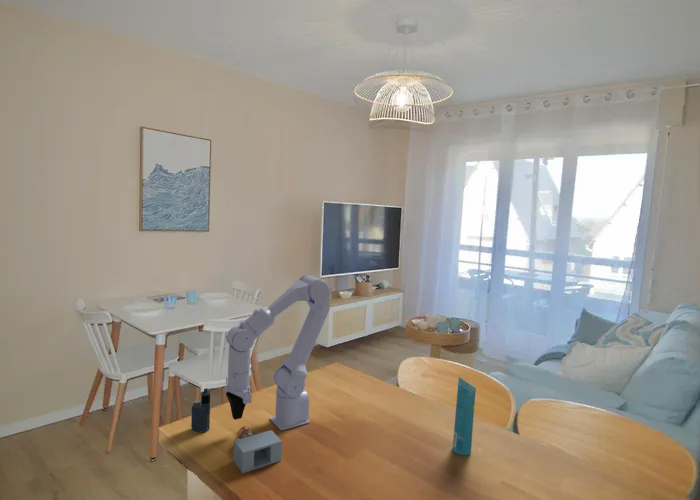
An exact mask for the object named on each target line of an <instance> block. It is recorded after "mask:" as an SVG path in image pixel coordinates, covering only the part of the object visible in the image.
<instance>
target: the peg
mask: <svg viewBox="0 0 700 500" xmlns="http://www.w3.org/2000/svg"><path fill="white" fill-rule="evenodd" d="M252 434H253V431H252V429H251V428H250V427H249V426H246V425H245V426H242V427H240V429H239V430H238V431H237V439H242V437H245V436H248V435H252Z"/></svg>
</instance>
